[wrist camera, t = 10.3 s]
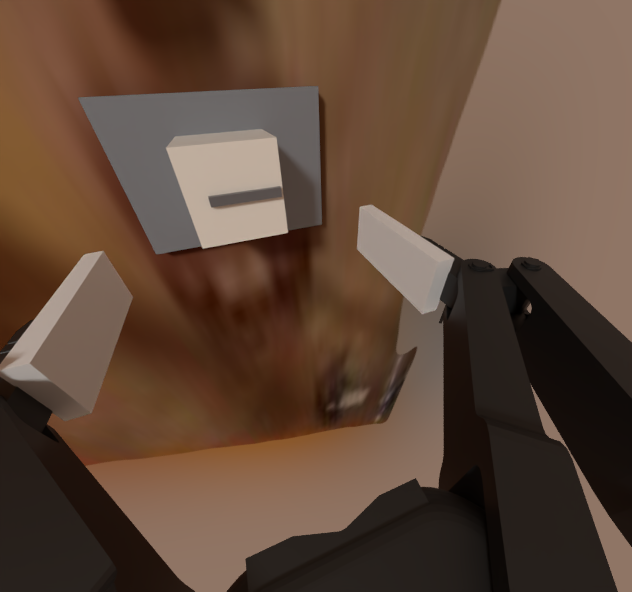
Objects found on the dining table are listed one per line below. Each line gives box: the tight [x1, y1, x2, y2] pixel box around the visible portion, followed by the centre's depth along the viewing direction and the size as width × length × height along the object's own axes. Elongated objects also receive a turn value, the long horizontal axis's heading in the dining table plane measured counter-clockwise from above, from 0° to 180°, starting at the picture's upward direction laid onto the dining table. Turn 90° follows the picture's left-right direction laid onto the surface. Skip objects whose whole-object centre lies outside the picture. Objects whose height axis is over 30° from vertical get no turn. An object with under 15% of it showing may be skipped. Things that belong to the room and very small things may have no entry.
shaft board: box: [78, 86, 322, 254], centre depth 25 cm, size 20×14×6 cm
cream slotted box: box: [166, 129, 288, 249], centre depth 24 cm, size 8×8×7 cm
